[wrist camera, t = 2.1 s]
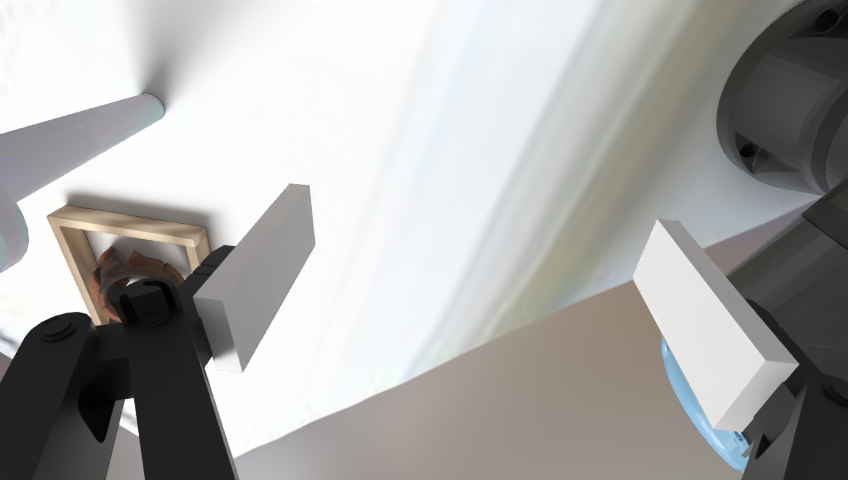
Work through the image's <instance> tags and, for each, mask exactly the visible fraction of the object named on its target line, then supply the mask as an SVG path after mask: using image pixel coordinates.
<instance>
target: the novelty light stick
mask: <svg viewBox="0 0 848 480" xmlns="http://www.w3.org/2000/svg"><path fill="white" fill-rule="evenodd" d="M163 116H164V107H163V105H162V103H161V102H160V101H159V100H158V99H157V98H156V97H155V96H153V95H151V94H141V95H137V96H134V97H130V98H127V99H123V100H120V101H116V102H112V103H109V104H105V105H102V106H98V107H95V108H91V109H88V110H84V111H81V112H77V113H74V114H70V115H66V116H63V117H59V118H56V119H52V120H49V121H45V122H42V123H38V124H35V125H31V126H28V127H24V128H20V129H17V130H13V131H10V132H6V133H3V134H0V273H2V272H4V271H5V270H7V269H8V268H10V267H11V266H13V265H14V264H16V263H17V262H19V261H20V260H21V259H22V257H23V256H24V254H25V253H26V251H27V248H28V243H29V236H28V228H27V225H26V222H25V219H24V216H23V214H22V212H21V210H20V209H19V207H18V205H17V203H16V202H18V201H20V200H21V199H23V198H25V197H27V196H28V195H30V194H32V193H34V192H35V191H37V190H39V189H41V188H42V187H44V186H46V185H47V184H49V183H51V182H53V181H54V180H56V179H58V178H60V177H61V176H63V175H65V174H67V173H68V172H70V171H72V170H73V169H75V168H77V167H79V166H80V165H82V164H84V163H86V162H87V161H89V160H91V159H93V158H94V157H96V156H98V155H99V154H101V153H103V152H105V151H106V150H108V149H110V148H112V147H113V146H115V145H117V144H119V143H120V142H122V141H124V140H125V139H127V138H129V137H131V136H132V135H134V134H136V133H138V132H139V131H141V130H143V129H145V128H146V127H148V126H150V125H151V124H153V123H155V122H157V121H158V120H160V119H162V118H163Z"/></svg>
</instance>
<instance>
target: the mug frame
mask: <svg viewBox="0 0 848 480" xmlns="http://www.w3.org/2000/svg"><path fill="white" fill-rule="evenodd" d="M46 217H47V219H48V221H49V223H50V226H51V228H52V230H53V232H54V235H55V237H56V239H57V241H58V244H59V246H60V248H61V250H62V253H63V255H64V257H65V259H66V262H67V264H68V266H69V268H70V271H71V273H72V275H73V277H74V280H75V282H76V284H77V286H78V289H79V291H80V293H81V295H82V298H83V300H84V302H85V304H86V307H87V309H88V311H89V313H90V316H91V318H92V320H93V322H94V324H95V326H96V325H105V324H109V317H108V316H107V315H106V314H105V313H104V312H103V311H102V309H101V307H100V306H99V304H98V303H97V302H96V300H95V299H94V297H93V296H92V294H91V290H90V284H89V279H90V275H91V274H92V273H93V272H94V271H95V270H96V268H97V263H96V260H95V258H94V255H93V253H92V250H91V248H90V245H89V243H88V240H87V238H86V235H85V233H84V230H90V231H96V232H102V233H109V234H115V235H121V236H127V237H134V238H140V239H146V240H152V241H159V242H165V243H171V244H177V245H184V246H186V249H187V253H188V257H189V262H190V266H191V270H192V273H193V271H194V270H195V269H196V268H197V267H198V266H200V263H201V262H202V261H203V260H204V259H205V258H206V257H207V256H208V255H209V254H210V253H211V252H210V247H209V242H208V237H207V232H206V228H205V227H199V226H193V225H187V224H180V223H174V222H168V221H162V220H155V219H149V218H143V217H136V216H130V215H124V214H118V213H111V212H105V211H99V210H93V209H86V208H80V207H74V206H67V205H65V206H63V207H61V208H60V209H58V210H56V211H55V212H53V213H51V214H49V215H48V216H46ZM83 229H84V230H83Z"/></svg>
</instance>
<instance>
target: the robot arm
mask: <svg viewBox="0 0 848 480" xmlns="http://www.w3.org/2000/svg"><path fill="white" fill-rule="evenodd" d="M717 134H718V138H719V142H720V144H721V147H722V149H723V151H724V153H725V154H726V155H727V157H728V158H729V159H730V160H731V161H732V162H733V163H734V164H735V165H736V166H737V167H739V168H740V169H742V170H743V171H744V172H746V173H747V174H749V175H750V176H751V177H753V178H755V179H756V180H759V181H761V182H763V183H765V184H768V185H771V186H775V187H779V188H784V189H789V190H795V191H800V192H805V193H811V194H816V195H821V196H823V197H822V198H821V199H819V200H818V201H817V202H816V203H814V204H813V205H812V206H811V207H809V208H808V209H807V210H806V211H804V212H803V213H801V214H800V215H799V216H797V217H796V218H795V219H794V220H792V221H791V222H790V223H789V224H787V225H786V226H785V227H784V228H783V229H782V230H780V231H779V232H778V233H776V234H775V235H774V236H773V237H771V238H770V239H769V240H768V241H766V242H765V243H764V244H763V245H762V246H760V247H759V248H758V249H757V250H756V251H754V252H753V253H752V254H750V255H749V256H748V257H747V258H745V259H744V260H743V261H742V262H740V263H739V264H738V265H737V266H736V267H734V268H733V269H732V270H731V271H729V272H728V273H727V274H726V275H724V274H723V273H722V272H721V271H720V270H719V268H718V267H717V266H716V265H715V264H714V263H713V261H712V260H711V259H710V258H709V257H708V255H707V254H706V253H705V252H704V251H703V250H702V248H701V247H700V246H699V245H698V244H697V242H696V241H695V240H694V239H693V238H692V236H691V235H690V234H689V233H688V232H687V231H686V229H685V228H684V227H683V226H682V225H681V223H680V222H679V221H672V220H662V219H657V221H656V223H655V226H654V228H653V230H652V233H651V235H650V237H649V240H648V242H647V244H646V247H645V249H644V251H643V254H642V256H641V258H640V260H639V263H638V265H637V267H636V270H635V272H634V274H633V277H632V278H633V280H634V282H635V283H636V285H637V287H638V289H639V291H640V293H641V295H642V297H643V299H644V301H645V302H646V304H647V306H648V308H649V310H650V312H651V314H652V315H653V317H654V319H655V321H656V323H657V325H658V327H659V328H660V330H661V332H662V334H663V335H662V342H661V346H662V355H663V358H664V361H665V369H666V372H667V375H668V377H669V380H670V382H671V384H672V387H673V389H674V391H675V393H676V395H677V397H678V398H679V400H680V402H681V404H682V405H683V407H684V409H685V410H686V412H687V414H688V415H689V417H690V418H691V420H692V421H693V422H694V424H695V425H696V427H697V428H698V430H699V431H700V432H701V434H702V435H703V436H704V437H705V439H706V440H707V441H708V442H709V444H710V445H711V446H712V447H713V448H714V449H715V450H716V451H717V453H718V454H719V455H720V456H721V457H722V458H724V460H726V461H727V462H728V463H729V464H730V465H731V466H732V467H733V468H735V469H740V470H741V472H742V473H743V476H742V479H741V480H848V0H808V1H806V2H804V3H802V4H801V5H799V6H797V7H796V8H794V9H793V10H791V11H790V12H788V13H787V14H785V15H784V16H783V17H781V18H780V19H779V20H777V21H776V22H775V23H774V24H772V25H771V26H770V27H769V28H768V29H767V30H766V31H765V32H763V33H762V34H761V35H760V36H759V37H758V38H757V39H756V40H755V41H754V43H753V44H752V45H751V46H750V47H749V48H748V50H747V51H746V52H745V53H744V55H743V56H742V57H741V59H740V60H739V61H738V63H737V64H736V66H735V68H734V69H733V71H732V73H731V74H730V76H729V78H728V80H727V82H726V84H725V87H724V89H723V92H722V95H721V98H720V101H719V105H718V111H717ZM314 246H315V236H314V226H313V216H312V207H311V197H310V187H309V185H300V184H289V185H288V186H287V187H286V188H285V190H284V191H283V192H282V193H281V194H280V196H279V197H278V198H277V199H276V200H275V201H274V203H273V204H272V205H271V206H270V207H269V208H268V210H267V211H266V212H265V213H264V214H263V215H262V217H261V218H260V219H259V220H258V221H257V222H256V224H255V225H254V226H253V227H252V228H251V229H250V231H249V232H248V233H247V234H246V235H245V236H244V238H243V239H242V240H241V241H240V242H239V243H238V245H237V246H228V245H223V246H222V247H220V248H218V249H216V250H215V251H213V252H211V253H210V254H209V255H208V256H207V257H206V258H205V259H204V260H203V261H202V262H201V263H200V266H198V267H197V268H196V269H195V270H194V271H193V273H192V274H190V275H189V276H188V277H187V278H186V279H185V281H184V282H183V283H182V284H181V285H180V286H179V287H178V288H177V289H176V287H175V285H174V283H173V282H172V281H171V280H168V279H166V278H155V277H153V278H148V279H142V280H139V281H137V282H134V283H131V284H129V285H128V286H126V287H124V288H123V289H121V290H120V291H119V292H118V293H117V294H116V296H115V297H114V300H113V306H114V308H115V310H116V312H117V314H118V316H119V318H120V320H121V323H113V324H105V325H96V326H95V324H94V322H93V321H92V319H91V318H90V317H89V316H88V315H87V314H85V313H80V312H72V313H65V314H61V315H57V316H54V317H52V318H49V319H47V320H45V321H43V322H41V323H40V324H38V325H37V326H35V327H34V328H33V329H31V330H30V332H29V333H28V334H27V335H26V336H25V338H24V340H23V342H22V343H21V345H20V347H19V349H18V351H17V353H16V354H15V356H14V358H13V360H12V362H11V364H10V366H9V367H8V369H7V371H6V373H5V375H4V377H3V378H2V380H1V382H0V480H106V476H107V471H108V468H109V464H110V459H111V455H112V451H113V447H114V443H115V439H116V434H117V430H118V426H119V422H120V418H121V414H122V409H123V405H124V401H125V399H130V398H134V403H135V410H136V417H137V425H138V432H139V439H140V447H141V454H142V461H143V469H144V476H145V480H239V477H238V473H237V470H236V467H235V464H234V461H233V457H232V454H231V451H230V448H229V445H228V441H227V438H226V435H225V432H224V429H223V425H222V422H221V419H220V416H219V413H218V409H217V406H216V403H215V400H214V397H213V393H212V390H211V387H210V384H209V381H208V377H207V374H206V371H205V369H204V368H205V366H206V365H207V363H208V362H209V360H210V359H211V357H213V360H214V363H215V366H216V369H217V370H222V371H231V372H239V373H243V371H244V370H245V368H246V366H247V364H248V363H249V361H250V359H251V357H252V356H253V354H254V352H255V350H256V348H257V347H258V345H259V343H260V341H261V340H262V338H263V336H264V334H265V333H266V331H267V329H268V327H269V326H270V324H271V322H272V320H273V319H274V317H275V315H276V313H277V312H278V310H279V308H280V306H281V304H282V303H283V301H284V299H285V297H286V296H287V294H288V292H289V290H290V289H291V287H292V285H293V283H294V282H295V280H296V278H297V276H298V275H299V273H300V271H301V269H302V267H303V266H304V264H305V262H306V260H307V259H308V257H309V255H310V253H311V252H312V250H313V248H314Z"/></svg>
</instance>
